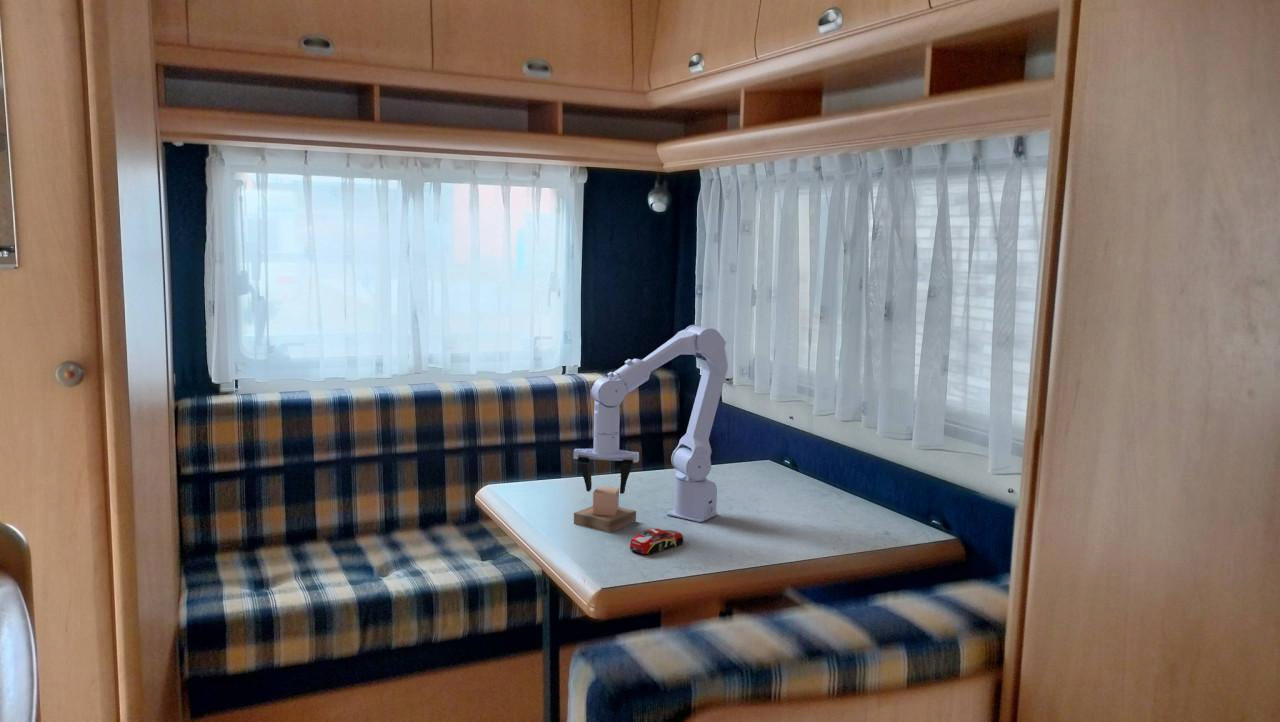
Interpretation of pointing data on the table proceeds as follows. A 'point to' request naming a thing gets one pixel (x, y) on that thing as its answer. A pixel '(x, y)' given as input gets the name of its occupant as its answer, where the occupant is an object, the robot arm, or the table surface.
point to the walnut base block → (604, 519)
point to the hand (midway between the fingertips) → (605, 491)
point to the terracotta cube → (605, 501)
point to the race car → (655, 541)
